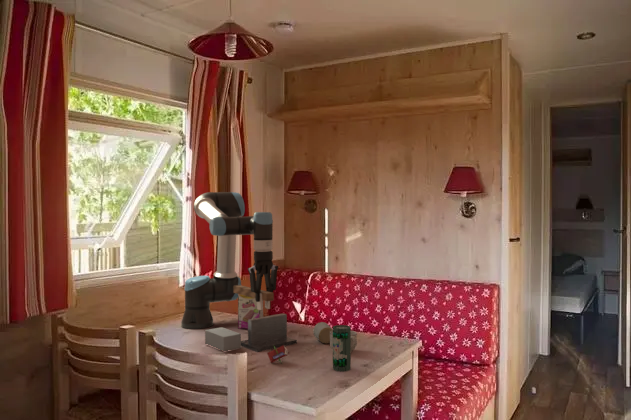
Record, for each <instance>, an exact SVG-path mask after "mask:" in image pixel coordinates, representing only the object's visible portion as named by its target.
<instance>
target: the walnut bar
mask: <svg viewBox="0 0 631 420" xmlns="http://www.w3.org/2000/svg"><path fill="white" fill-rule="evenodd" d="M233 288H234V293H237V294H240V295H244V296H248V297H252V298H255V293H254V292H251V286H250V287H249V286H246V285H242V284H241V285H236V286H233ZM261 294H262V300H263V302H265V301H270V302H273V301H274V300H275V299H274V298H275V295H274V294H275V293H274V292H268V291H266V290H263V289H261Z"/></svg>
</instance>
